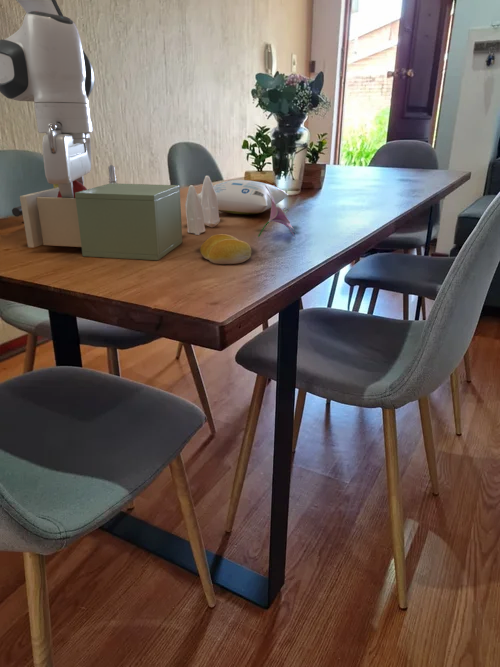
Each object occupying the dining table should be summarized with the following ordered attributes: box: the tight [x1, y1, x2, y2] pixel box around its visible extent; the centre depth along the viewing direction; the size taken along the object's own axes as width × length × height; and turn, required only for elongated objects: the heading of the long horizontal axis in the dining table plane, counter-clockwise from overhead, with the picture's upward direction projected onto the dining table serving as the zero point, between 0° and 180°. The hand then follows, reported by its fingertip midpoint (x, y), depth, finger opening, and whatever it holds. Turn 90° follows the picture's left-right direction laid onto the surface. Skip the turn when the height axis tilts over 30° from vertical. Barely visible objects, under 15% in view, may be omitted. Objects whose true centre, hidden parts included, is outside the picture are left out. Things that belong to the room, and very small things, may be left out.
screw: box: [107, 164, 118, 184], centre depth 112 cm, size 13×5×5 cm
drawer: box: [11, 187, 82, 249], centre depth 94 cm, size 17×13×9 cm
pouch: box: [197, 179, 289, 215], centre depth 129 cm, size 8×19×20 cm
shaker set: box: [184, 175, 221, 236], centre depth 109 cm, size 12×4×11 cm, turn 156°
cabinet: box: [75, 182, 183, 261], centre depth 91 cm, size 14×14×11 cm
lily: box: [257, 187, 297, 239], centre depth 103 cm, size 12×12×10 cm
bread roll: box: [199, 233, 252, 265], centre depth 87 cm, size 8×9×4 cm
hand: (74, 204), depth 92 cm, fingers closed on onion, 6 cm apart
